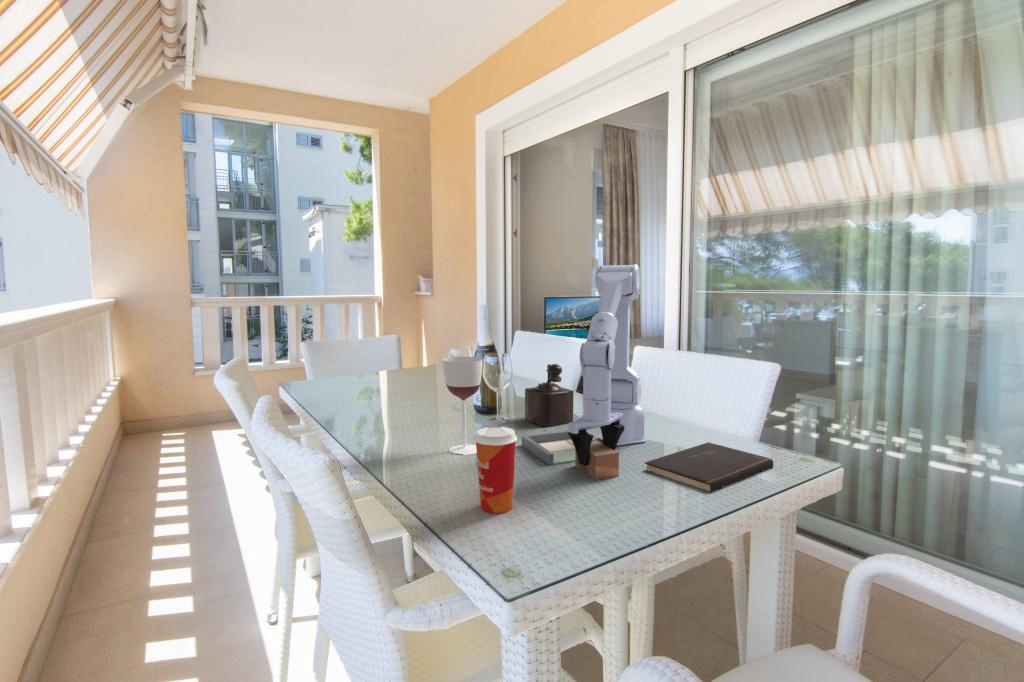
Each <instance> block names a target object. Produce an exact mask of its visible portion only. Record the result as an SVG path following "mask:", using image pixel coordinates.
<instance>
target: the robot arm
mask: <svg viewBox="0 0 1024 682" xmlns="http://www.w3.org/2000/svg"><path fill="white" fill-rule="evenodd" d="M594 284H595V288H596V290H597V293H598V294H599V295H600V298H599V307H598V313H596V314H594V315H593V316H592V317H591V321H590V325H589V328H588V329H589V330H588V334H587V337H586V341H585V342H584V343H583V342H582V343H581V345H580V349H579V365H580V373H581V376H582V378H583V379H582V380H583V383H582V388H583V389H582V395H583V397H582V404H583V406H582V407H583V408H582V412H583V413H582V414H581V415H580V418H578V419H576V420H573V422H571V423H568V429H567V430H568V435H569V437H570V438H571V440H572V442H573V444H574V446H575V449H576V452H577V456H578V460H579V464H582V465H585V466H587V465H588V464H589V454H590V446H591V442H593V439H594V435H593V434H592V433H591V434H590V433H588V430H593V429H597V428H600V432H601V435H598V436H597V439H599V440H601V441H602V444H604V445H605V446H607V447H609V448H611V449H613V450H615V451H616V449H617V446H625V445H633V443H634V444H640V443H646V442H647V440H646V439H645V413H644V410H643V408H642V407H641V405H639V404H640V402H641V394H642V386H641V377H640V374H639V373H638V372H636V371H635V370H634V369H632V367H631V366H630V339H631V338H630V337H631V336H630V335H631V333H630V331H631V308H632V303H633V301H635V300H637V299H639V297H640V291H641V269H640V267H639V265H638V264H637V263H635V264H629V265H628V264H622V265H620V264H619V265H618V264H617V265H615V264H613V265H602V264H598V266H597V267H596V268H595V274H594Z"/></svg>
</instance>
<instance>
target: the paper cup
mask: <svg viewBox="0 0 1024 682" xmlns="http://www.w3.org/2000/svg"><path fill="white" fill-rule="evenodd" d="M473 440H474V442H475V445H476V450H477V453H476V459H477V460H476V461H477V474H478V487H479V498H480V508H481V510H482V511H483V512H484V513H488V514H493V515H494V514H495V515H497V514H504V513H508V512H510V511H511V510H512V508H513V500H514V499H513V498H514V497H513V496H514V483H515V482H514V479H515V460H516V458H515V456H516V442H517V440H518V437H517V435H516V432H515V430H514V429H512V428H510V427H505V426H500V427H498V426H491V427H488V426H487V427H481V428H480V429H478V430H477V431H476V434H475V436H474V438H473Z"/></svg>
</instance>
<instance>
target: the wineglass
mask: <svg viewBox="0 0 1024 682" xmlns="http://www.w3.org/2000/svg"><path fill="white" fill-rule="evenodd" d="M442 362H443V363H442V365H443V373H444V374H443V375H444V380H445V384H446V389H447V390H448V391H449V392H450V394H452V395H453V396H455V397H457V398H459V399H460V400H461V419H462V420H461V421H462V422H461V424H462V425H461V426H462V431H461V432H462V444H459V445H458V444H457V446H456V445H453V446H450V447H451V448H450V447H449V448H450V449H449V450H450V451H451V452H453V453H459V454H463V455H462V456H468V455H470V456H471V455H475V454H477V450H476V444H467V424H466V423H467V421H466V420H467V418H466V416H467V413H466V401H467V399H468V398H470V397H472V396H474V395H475V394H476V393H477V392H478V391H479V389H480V386H481V382H482V374H483V358H481V357H478V356H477V357H475V356H452V357H450V356H449V357H446V358H443V359H442Z"/></svg>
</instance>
